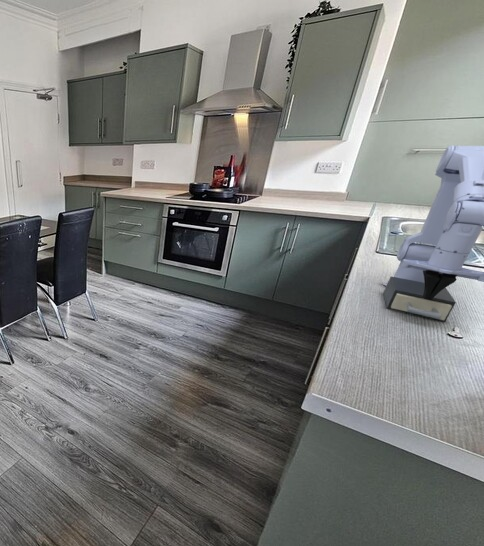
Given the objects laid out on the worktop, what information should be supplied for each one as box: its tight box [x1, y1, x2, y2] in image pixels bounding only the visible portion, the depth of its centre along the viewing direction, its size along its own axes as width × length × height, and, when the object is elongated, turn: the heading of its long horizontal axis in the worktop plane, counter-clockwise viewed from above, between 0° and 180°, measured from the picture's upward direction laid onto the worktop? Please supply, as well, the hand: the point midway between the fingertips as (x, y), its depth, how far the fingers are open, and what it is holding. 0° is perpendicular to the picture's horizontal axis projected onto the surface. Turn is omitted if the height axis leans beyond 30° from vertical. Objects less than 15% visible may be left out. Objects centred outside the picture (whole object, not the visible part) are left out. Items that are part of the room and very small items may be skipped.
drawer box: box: [382, 276, 457, 323], centre depth 90 cm, size 13×12×6 cm
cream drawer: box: [391, 293, 452, 320], centre depth 87 cm, size 17×10×4 cm, turn 141°
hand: (426, 298), depth 82 cm, fingers closed
